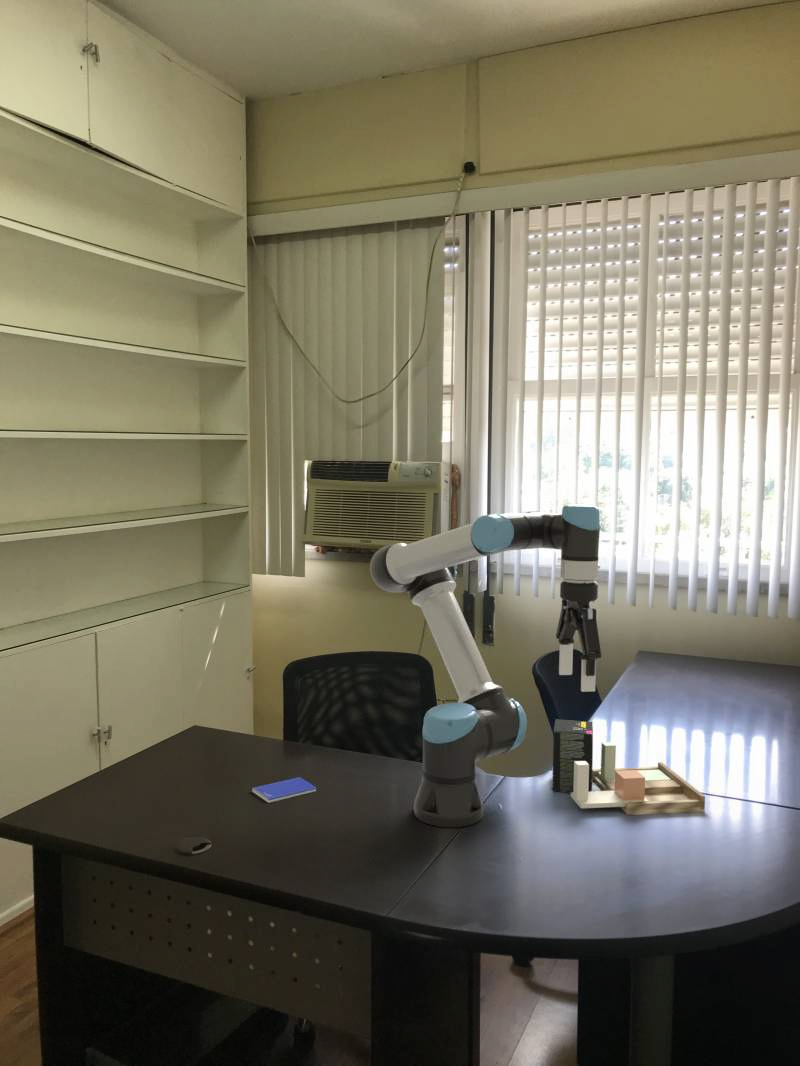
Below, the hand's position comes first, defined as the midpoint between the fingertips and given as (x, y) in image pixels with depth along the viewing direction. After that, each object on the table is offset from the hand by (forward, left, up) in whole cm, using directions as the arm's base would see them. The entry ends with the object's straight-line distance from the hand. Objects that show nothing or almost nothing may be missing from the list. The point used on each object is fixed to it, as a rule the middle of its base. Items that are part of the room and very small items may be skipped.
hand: (576, 682), depth 177 cm
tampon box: (+9, +25, -32) cm, 42 cm away
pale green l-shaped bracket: (+24, +24, -30) cm, 45 cm away
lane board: (+24, +18, -32) cm, 44 cm away
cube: (+18, +12, -29) cm, 36 cm away
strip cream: (+13, +12, -30) cm, 35 cm away
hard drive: (-60, +29, -32) cm, 74 cm away
